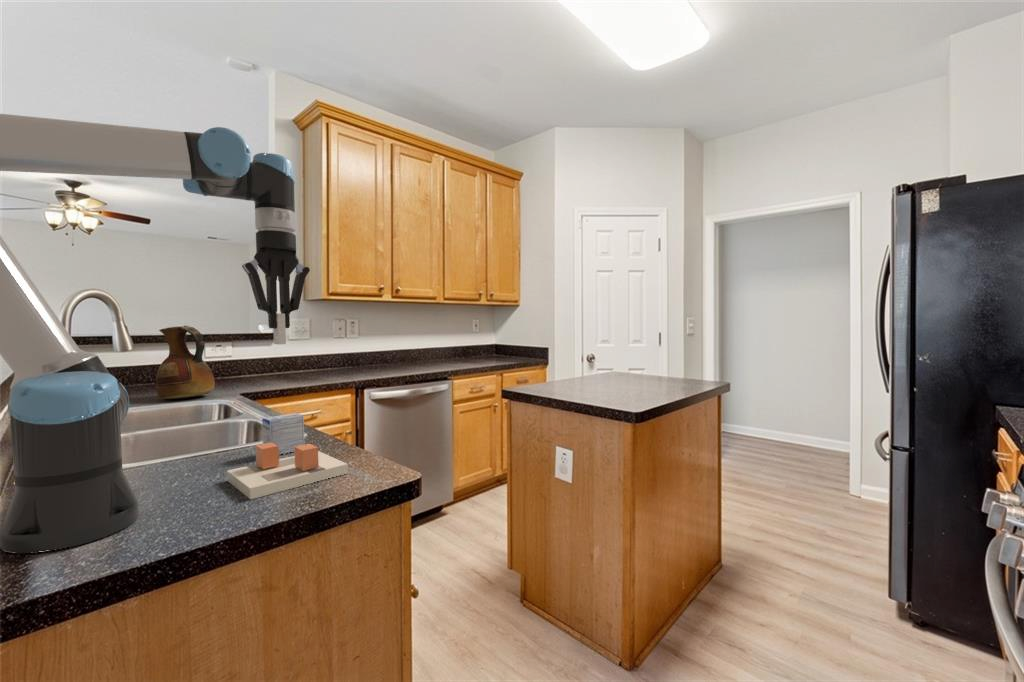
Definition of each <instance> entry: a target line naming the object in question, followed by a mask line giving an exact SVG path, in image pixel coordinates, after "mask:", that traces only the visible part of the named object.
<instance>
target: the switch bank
mask: <svg viewBox="0 0 1024 682" xmlns="http://www.w3.org/2000/svg"><path fill="white" fill-rule="evenodd" d="M318 463H319V467H318V468H314V469H309V470H305V471H302V470H300V469H299V468H297V467H295V455H293V456H289V457H288V456H287V457H282V458H279V466H275V467H271V468H266V469H262V468H260V467H259V466H257V465H256V463H254V464H249V465H246V466H242V467H238V468H233V469H227V470H226V476H227V477H226V479H227V482H228V483H230V485H232V486H233V487H235V488H236V489H237V490H238V491H240V492H241V493H242V494H243V495H244V496H246V497H247V498H248V499H250V500H254V499H257V498H261V497H265V496H269V495H273V494H276V493H281V492H284V491H288V490H292V489H294V488H295V489H296V488H298V487H304V486H306V484H307V485H311V484H315V483H318V482H317V481H319V482H322V481H326V480H329V479H328V478H330V479H333V478H332V477H334V478H337V477H340V475H341V476H345V475H348V474H349V465H348V463H346V462H344V461H341V460H340V459H337V458H335V457H332V456H331V455H328V454H326V453H324V452H322V451H319V450H318ZM344 474H345V475H344ZM336 476H337V477H336ZM325 479H326V480H325ZM321 480H322V481H321ZM314 482H315V483H314ZM303 485H304V486H303Z"/></svg>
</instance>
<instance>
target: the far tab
mask: <svg viewBox="0 0 1024 682" xmlns="http://www.w3.org/2000/svg"><path fill="white" fill-rule="evenodd" d="M279 457H280V455H279V448H278V445H276V444H274V443H272V442H271V443H265V444H263V443H260V444H255V464H256V465H257V466H259V467H260V468H262V469H266V468H271V467H275V466H279V459H280V458H279Z"/></svg>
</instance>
